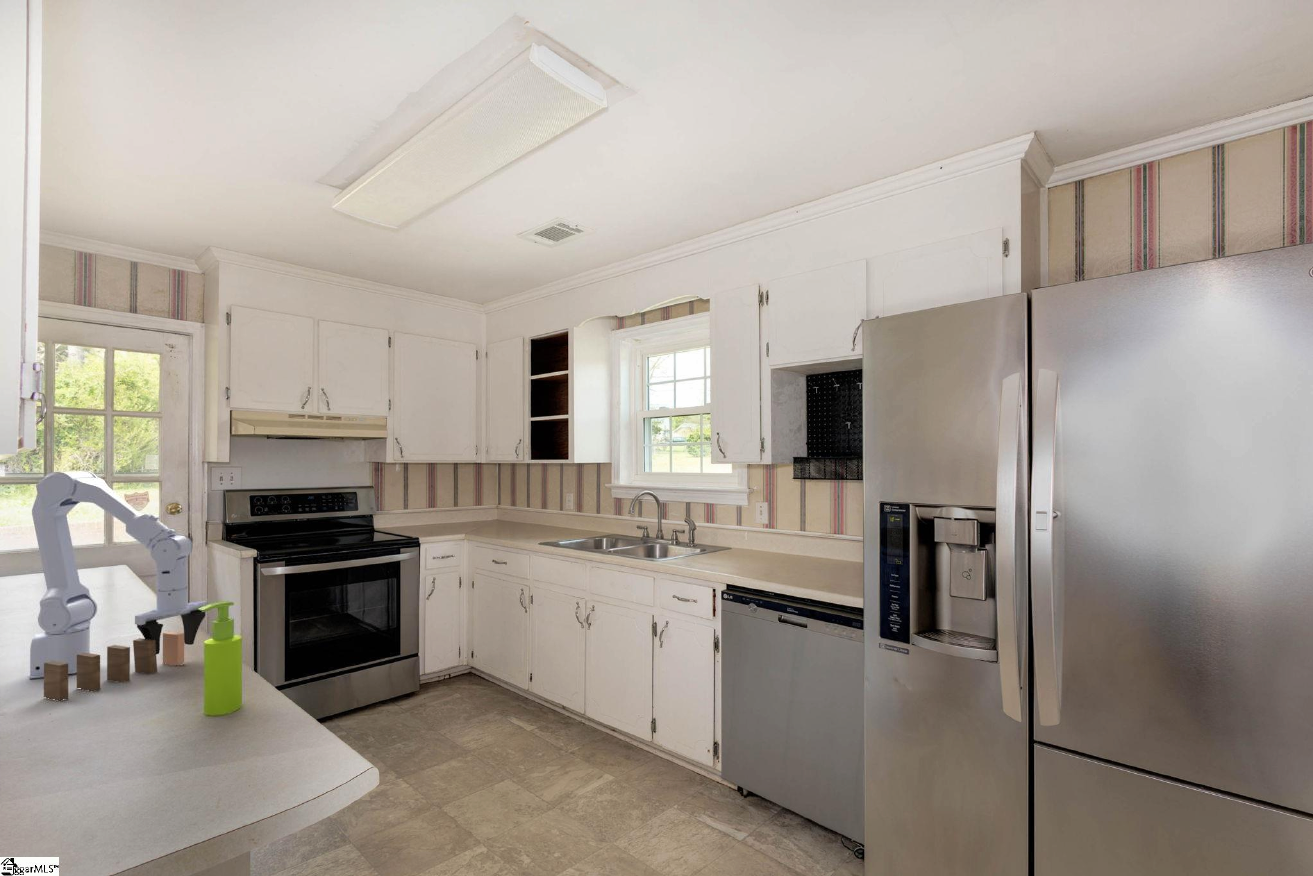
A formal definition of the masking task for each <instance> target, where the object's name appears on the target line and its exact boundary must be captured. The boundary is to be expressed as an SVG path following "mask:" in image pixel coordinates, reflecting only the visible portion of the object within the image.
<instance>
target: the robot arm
mask: <svg viewBox="0 0 1313 876" xmlns="http://www.w3.org/2000/svg"><path fill="white" fill-rule="evenodd" d="M35 488H36V497H35V498H34V499H35V500H34V502H33V505H32V508H31V516H32V520H33V524H34V525H33V526H34V530H35V535H36V540H37V546H38V551H39V556H40V561H41V564H42V571H43V574H44V579H45V585H46V592H45V594H44V595H43V596H42V598H41V599H40V600H39V607H40V609H39V613H38V616H37V623H38V625H39V628H41V630H43V631H44V632H39V633H36V634H34V636H33V637H32V640H31V643H30V649H29V652H30V653H29V655H30V657H29V658H30V659H29V660H30V661H29V662H30V663H29V665H30V667H29V675H28V679H29V678H31V679H39V678H44V663H45V662H49V661H58V662H64V663H68V675H71V674H77V654H81V653H90V652H91V649H90V648H91V646H90V645H91V643H90V642H91V641H90V638H91V635H90V634H91V632H90V631H91V629H90V627H91V620H93V619H94V617H96V615H97V613H98V604H97V602H96V600H95V599H93V598H92V596H91V593H90V589H89V588H88V587H87V586H85V585H84V584H82V583H81V582H80V576H79V571H78V566H77V561H76V556H75V551H74V547H73V542H72V537H71V532H70V526H69V521H68V517H67V515H68V514H69V513H70V512H71V511H72V510H73V509H74V508H75V507H76V506H77V505H78V504H79V503H92V504H95V505H96V506H98V507H99V508H101V509H102V510H104V511H105V512H107V513H108V514H109V515H111V516H112V517H114V518H116V519H117V520H119V521H120V522H121V523H123V524H124V525H125V533H127V534H128V535H129V536H131V538H133V539H134V540H135V541H137V542H138V543H140V545H142V546H144V547H145V548H146V549H148V550H149V551H150V556H151V558H152V559H153V561H155V563H156V609H153V610H150V611H147V612H144V613H140V614H136V615H134V624H135V625H136V627H137V629H138V631H139V632H140V633H141V635H142V637H143V639H150V640H155V644H156V655H159V654H160V650H161V649H160V648H161V635H162V630H163V626H164V624H163V623H159V621H161V620H164V619H165V620H166V619H169V618H173V617H178V616H180V617H181V620H182V625H183V633H184V645H189V646H190V645H191V646H193V645H194V643H195V640H196V636H197V633H198V630H199V627H200V626H201V623H202V622H203V621H204V619H205V618H206V612H205V611H200V610H198V608H200V607H203V606H205V605H208V604H207V603H208V601H204V600H199V601H195V602H189V601H188V600H189V598H188V596H189V595H188V593H189V592H188V591H189V590H188V589H189V588H188V587H189V586H188V584H189V582H188V580H189V578H188V577H189V575H188V574H189V572H188V571H189V569H188V568H189V567H188V564H189V563H188V561H189V560H188V557H189V555H190V554H191V553H192V551H193V543H192V540H191V539H190V538H189V537H188V535H187V534H184V533H177V530H175V529H173V528H169V527H168V526H167V525H165V524H164V523H163V522H162V521H160V520H159V519H160V517H159V516H158V515H157V514H156V513H155V514H151V513H148V512H144V513H143V512H142V513H141V512H139V511H138V510H136V509H135V508H134V507H133V506H131V504H129V503H128V502H127V501H126V500H125V499H124V498H122V497H121V496H120V495H119V494H118V493H116V492H115V491H114V490H113V489H112V488H110V487H109V486H108V484H107V482H106V481H105V480H104V479H102V478H101V477H98V476H97V475H96V474H95V473H94V472H92V471H90V470H78V471H54V472H53V471H52V472H50V473H48V474H45V476H44V477H43V478H42V479H41V480H39V482H38V483H37V484H35ZM188 602H189V603H188Z"/></svg>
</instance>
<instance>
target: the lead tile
mask: <svg viewBox="0 0 1313 876" xmlns="http://www.w3.org/2000/svg"><path fill="white" fill-rule="evenodd" d="M163 663H166V664H171V665H170V666H172V665H181V664H183V663H184V664H185V642H184V632H175V631H166V632H162V664H163ZM166 664H165V665H166ZM181 666H182V665H181Z"/></svg>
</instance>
